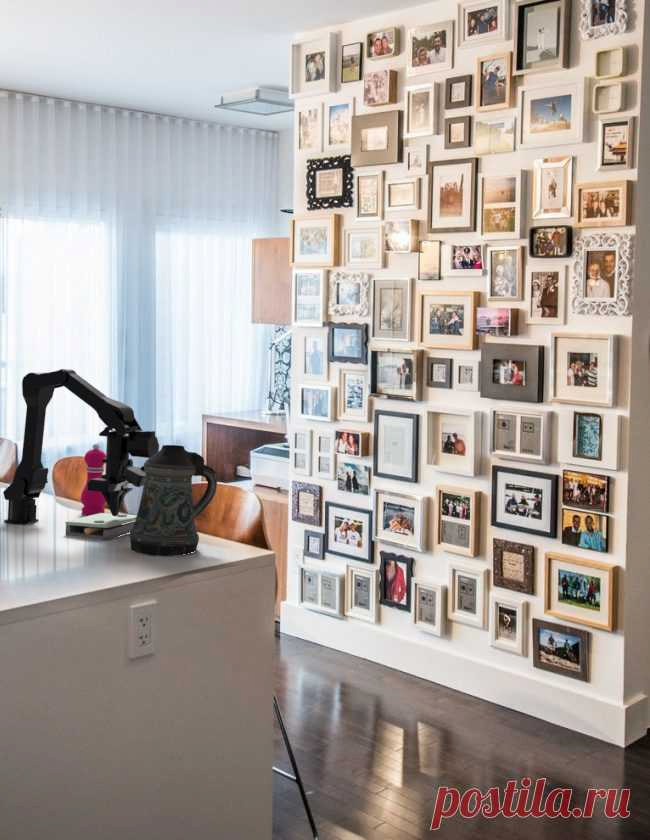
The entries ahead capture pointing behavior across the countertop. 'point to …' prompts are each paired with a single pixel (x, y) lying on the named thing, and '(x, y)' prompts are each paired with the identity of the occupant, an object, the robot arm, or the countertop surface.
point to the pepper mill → (94, 469)
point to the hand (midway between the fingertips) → (115, 515)
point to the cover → (102, 520)
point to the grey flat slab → (99, 531)
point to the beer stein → (170, 503)
